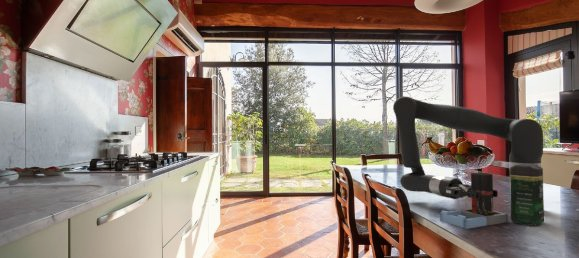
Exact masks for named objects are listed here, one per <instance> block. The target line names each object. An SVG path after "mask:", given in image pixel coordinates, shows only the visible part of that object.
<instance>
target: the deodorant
mask: <svg viewBox="0 0 579 258" xmlns="http://www.w3.org/2000/svg"><path fill="white" fill-rule="evenodd" d="M493 177H494V176H493V173H489V172H471V173H470V185H471V191H476V192H480V193H481V199H475V198H471V209H472V213H475V214H479V215H483V216H490V215H494V211H495V210H494V197H493V190H494V185H493V184H494V183H493V180H494V179H493Z"/></svg>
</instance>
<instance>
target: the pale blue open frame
mask: <svg viewBox="0 0 579 258" xmlns="http://www.w3.org/2000/svg"><path fill="white" fill-rule="evenodd" d="M508 214H509V213H506V212H500V211H496V210H494V215H490V216H483V215H479V214H475V213H472V208H465V209H458V210H450V211H447V210H441V212H439V221H440V222H444V223H446V224H450V225H453V226H456V227H458V228H459V227H460V228H462V229H466V230H468V229H473V228H480V227H486V226H491V225H492V226H493V225H497V224H504V223H508V222H509V215H508Z"/></svg>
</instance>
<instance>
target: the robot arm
mask: <svg viewBox="0 0 579 258" xmlns="http://www.w3.org/2000/svg"><path fill="white" fill-rule="evenodd" d="M392 110H393V113H394V115H395V119H396V121H397V126H398V130H399V138H400V140H399V141H400V153H401V161H402V162H401V163H402V166H403V167H404V168H407V169H411V172H408V173H405V174H403V175H402V176H401V178H400V182H399V183H400V185H401V187H402V188H403V189H404V190H406V191H407V192H408V191H409V192H416V193H417V192H418V193H419V192H420V193H421V192H422V193H423V192H425V193H427V194H432V195H436V196H438V197H444V198H447V199H451V200H452V199H453V200H457V199H462V198H466V199H468V198H470V199H472V198H475V199H481V193H480V192H476V191H471V184H469V183H463V182H462V180H460V179H459V178H458V177H450V176H443V175H431V174H426V173H425V170H424V168H423V165H422V163H421V156H420V147H419V143H418V138H417V133H416V119H417V120H423V121H426V122H427V121H428V122H431V123H433V124H436V125H439V126H442V127H444V128H447V129H451V130H456V131H459V132H460V131H461V132H465V133H466V132H467V133H471V134H472V133H473V134H482V135H489V136H494V137H496V138H501V139H503V140H507V141H508V142H511V149H510V150H511V151H510V154H509V156H508V157H509V158H508V159H509V161H508V163H509V169H510V167H512V166H515V165H519V164H523V163H530V164H537V165H538V166H540V167H542V158H543V154H544V131H543V127H542V125H541V124H540V122H538V121H537V120H534V119H532V118H521V119H517V118H516V119H512V118H505V117H504V118H503V117H499V116H493V115H490V114H488V113H484V112H482V111H479V110H476V109H472V108H469V107H464V106H457V105H451V104H441V103H440V104H439V103H438V104H437V103H430V102H426V101H422V100H418V99H416V98H412V97H410V96H401V97H399V98H397V99H395V100H394V103H393V106H392ZM509 186H510V185H509ZM509 191H510V192H509V193H510V194H509V195H510V197H511V186H510V187H509ZM498 197H499V194H498V190H496V189H493V198H498ZM543 200H544V201H545V199H544V198H543Z"/></svg>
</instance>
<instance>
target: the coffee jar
mask: <svg viewBox="0 0 579 258" xmlns="http://www.w3.org/2000/svg"><path fill="white" fill-rule="evenodd" d="M509 186H511V196H510V220H511V222H515V223H517V224H520V225H523V226H535V227H537V226H541V225H543V224H544V223H545V204H544V203H545V202H544V201H545V199H544V169H543V167H542V166H541V167H540V166H538V165H537V164H530V163H523V164H519V165H515V166H512V167H510V168H509ZM543 199H544V200H543Z"/></svg>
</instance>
